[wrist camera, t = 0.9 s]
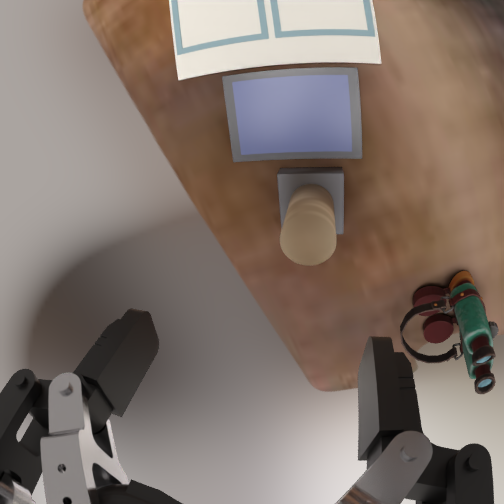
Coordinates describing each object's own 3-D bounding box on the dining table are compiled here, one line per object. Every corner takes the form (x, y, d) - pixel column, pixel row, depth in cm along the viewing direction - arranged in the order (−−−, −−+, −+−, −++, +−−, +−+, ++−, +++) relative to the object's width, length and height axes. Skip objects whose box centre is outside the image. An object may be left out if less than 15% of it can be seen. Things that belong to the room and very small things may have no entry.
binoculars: (393, 377, 20) (510, 336, 14) (389, 291, 28) (476, 255, 23) (415, 420, 22) (507, 390, 17) (412, 342, 31) (486, 315, 26)
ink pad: (355, 69, 18) (357, 67, 17) (360, 155, 22) (362, 159, 20) (226, 77, 21) (220, 76, 19) (237, 158, 24) (232, 162, 23)
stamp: (341, 167, 23) (351, 201, 16) (341, 223, 25) (347, 276, 18) (280, 168, 24) (262, 202, 17) (284, 223, 26) (269, 275, 19)
